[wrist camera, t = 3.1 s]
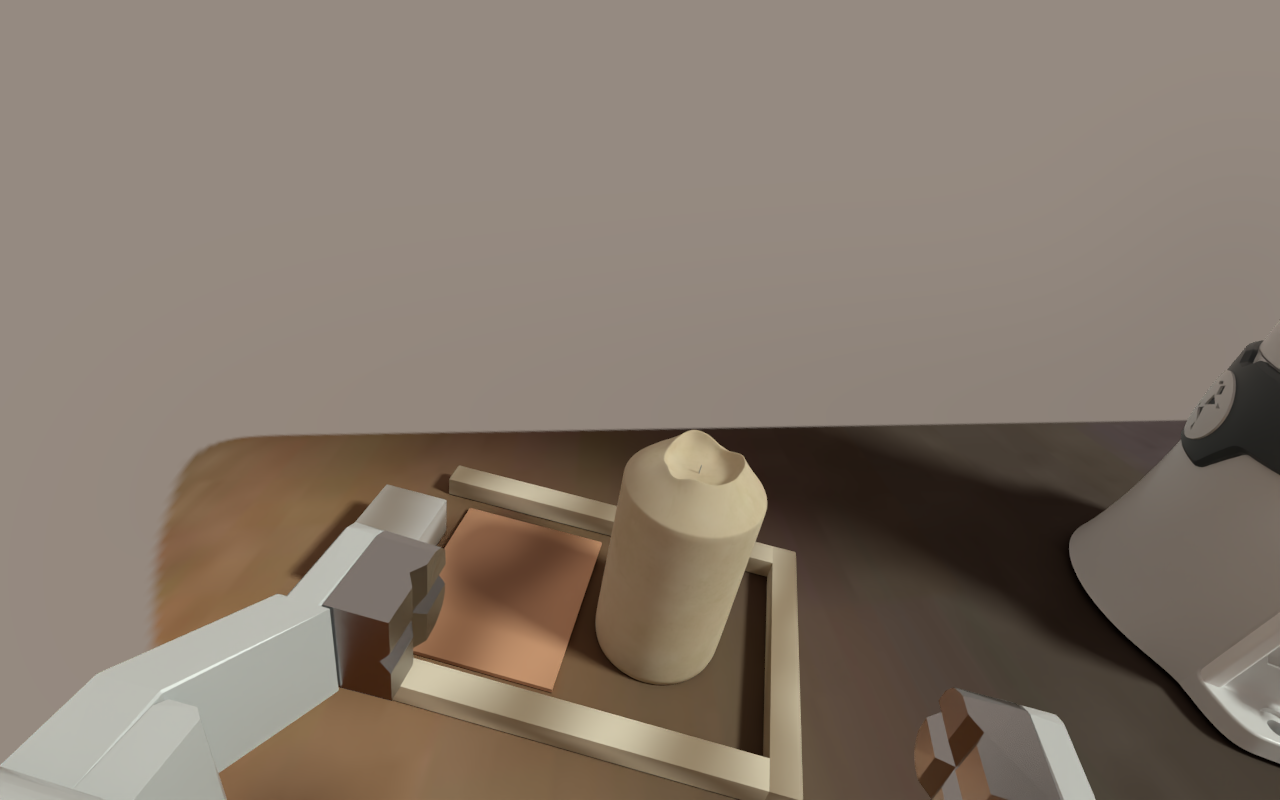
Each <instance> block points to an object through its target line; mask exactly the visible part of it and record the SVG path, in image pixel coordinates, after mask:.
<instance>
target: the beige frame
mask: <svg viewBox="0 0 1280 800" xmlns="http://www.w3.org/2000/svg"><path fill="white" fill-rule="evenodd" d="M449 494H452V495H456V496H460V497H464V498H468V499H471V500H475V501H479V502H483V503H487V504H491V505H494V506H498V507H502V508H506V509H510V510H513V511H517V512H521V513H525V514H529V515H533V516H536V517H540V518H544V519H548V520H552V521H556V522H559V523H563V524H567V525H571V526H575V527H578V528H582V529H586V530H590V531H594V532H598V533H601V534H605V535H609V536H611V534H612V529H613V524H614V519H615V514H616V509H617V506H614V505H611V504H607V503H603V502H599V501H595V500H591V499H587V498H583V497H580V496H576V495H572V494H568V493H564V492H560V491H556V490H552V489H549V488H545V487H541V486H537V485H533V484H529V483H525V482H521V481H517V480H514V479H510V478H506V477H502V476H498V475H494V474H490V473H486V472H483V471H479V470H475V469H471V468H467V467H463V466H458V467H457V469H456V470H455V472H454V473H453V474H452V476H451V477H450V479H449ZM356 522H357V523H360V524H364V525H367V526H371V527H374V528H377V529H381V530H384V531H389V532H392V533H395V534H398V535H402V536H405V537H408V538H412V539H415V540H418V541H422V542H425V543H428V544H431V545H435V546H436V545H437V544H438V542H439V541H440V539H441V538H442V536H443V535H444V533H445V531H446V500H444V499H441V498H437V497H433V496H429V495H425V494H422V493H418V492H414V491H410V490H406V489H402V488H399V487H395V486H391V485H386V486H385V487H384V488H383V490H382V491H381V492H380V493H379V494H378V496H377V497H376V498H375V499H374V500H373V501H372V503H371V504H370V505H369V506H368V507H367V509H366V510H365V511H364V512H363V513H362V514H361V516H360V517H359V518H358V519H357V520H356ZM601 545H602V542H599V541H595V540H591V539H587V538H583V537H580V536H576V535H572V534H568V533H564V532H561V531H557V530H553V529H549V528H545V527H541V526H538V525H534V524H530V523H526V522H522V521H519V520H515V519H511V518H507V517H503V516H500V515H496V514H492V513H488V512H484V511H481V510H477V509H473V508H470V509H469V510H468V512H467V513H466V515H465V516H464V518H463V520H462V521H461V523H460V524H459V526H458V528H457V529H456V531H455V532H454V534H453V535H452V537H451V539H450V540H449V542H448V543H447V545H446V546H445V548H444V549H445V557H446V564H445V566H444V568H443V569H442V571H441V573H440V574H439V576H440V577H441V578H442V580H443V581H444V583H445V595H444V600H443V604H442V608H441V611H440V614H439V616H438V619H437V621H436V624H435V626H434V628H433V630H432V632H431V633H430V635H429V637H428V639H427V640H426V641H425V642H423V643H421V644H419V645H418V646H416V647H414V648H413V654H416V655H419V656H423V657H426V658H430V659H434V660H437V661H441V662H444V663H448V664H451V665H455V666H458V667H462V668H466V669H469V670H473V671H476V672H480V673H483V674H487V675H490V676H494V677H498V678H501V679H505V680H508V681H512V682H515V683H519V684H522V685H526V686H530V687H533V688H537V689H540V690H544V691H547V692H551V693H552V690H553V687H554V684H555V681H556V678H557V675H558V672H559V669H560V666H561V663H562V660H563V657H564V654H565V651H566V649H567V646H568V643H569V640H570V637H571V634H572V631H573V628H574V625H575V622H576V619H577V616H578V613H579V610H580V607H581V604H582V601H583V598H584V595H585V593H586V590H587V587H588V584H589V581H590V578H591V575H592V572H593V569H594V566H595V563H596V560H597V557H598V554H599V551H600V548H601ZM745 571H747V572H751V573H754V574H758V575H762V576H766V577H767V604H766V647H765V689H764V732H763V756H759V755H756V754H752V753H749V752H745V751H742V750H738V749H735V748H731V747H727V746H724V745H720V744H717V743H713V742H710V741H706V740H703V739H699V738H696V737H692V736H688V735H685V734H681V733H678V732H674V731H671V730H667V729H664V728H660V727H656V726H653V725H649V724H646V723H642V722H639V721H635V720H632V719H628V718H624V717H621V716H617V715H614V714H610V713H607V712H603V711H600V710H596V709H593V708H589V707H585V706H582V705H578V704H575V703H571V702H568V701H564V700H561V699H557V698H553V697H550V696H546V695H543V694H539V693H536V692H532V691H529V690H525V689H522V688H518V687H514V686H511V685H507V684H504V683H500V682H497V681H493V680H490V679H486V678H482V677H479V676H475V675H472V674H468V673H465V672H461V671H458V670H454V669H451V668H447V667H443V666H440V665H436V664H433V663H429V662H426V661H422V660H419V659H415V658H413V665H412V667H411V669H410V670H409V672H408V674H407V675H406V677H405V679H404V681H403V682H402V684H401V686H400V688H399V689H398V691H397V693H396V694H395V696H394V698H393V700H395V701H398V702H402V703H405V704H409V705H412V706H416V707H419V708H423V709H426V710H430V711H433V712H437V713H440V714H444V715H447V716H451V717H454V718H458V719H461V720H465V721H468V722H471V723H475V724H478V725H482V726H485V727H489V728H492V729H496V730H499V731H503V732H506V733H510V734H513V735H517V736H520V737H524V738H527V739H531V740H534V741H538V742H541V743H545V744H548V745H552V746H555V747H559V748H562V749H565V750H569V751H572V752H576V753H579V754H583V755H586V756H590V757H593V758H597V759H600V760H604V761H607V762H611V763H614V764H618V765H621V766H625V767H628V768H632V769H635V770H639V771H642V772H646V773H649V774H653V775H656V776H659V777H663V778H666V779H670V780H673V781H677V782H680V783H684V784H687V785H691V786H694V787H698V788H701V789H705V790H708V791H712V792H715V793H719V794H722V795H726V796H729V797H733V798H736V799H740V800H803V782H802V747H801V713H800V679H799V644H798V610H797V576H796V552H793V551H789V550H785V549H781V548H777V547H773V546H770V545H766V544H762V543H758V542H755V544H754V547H753V549H752V552H751V555H750V558H749V560H748V563H747V566H746V569H745Z"/></svg>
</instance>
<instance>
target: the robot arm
mask: <svg viewBox="0 0 1280 800" xmlns="http://www.w3.org/2000/svg"><path fill="white" fill-rule="evenodd" d="M1069 554H1070V559H1071V562H1072V565H1073V568H1074V570H1075V573H1076V575H1077V577H1078V579H1079V581H1080V582H1081V584H1082V586H1083V587H1084V589H1085V590H1086V592H1087V593H1088V595H1089V596H1090V597H1091V599H1092V600H1093V601H1094V603H1095V604H1096V605H1097V606H1098V608H1099V609H1100V610H1101V611H1102V612H1103V613H1104V614H1105V616H1106V617H1107V618H1108V619H1109V620H1110V621H1111V622H1112V623H1113V624H1114V625H1115V626H1116V627H1117V628H1118V629H1119V630H1120V631H1121V632H1122V633H1123V634H1124V635H1125V636H1126V637H1127V638H1128V639H1129V640H1131V641H1132V642H1133V643H1134V644H1135V645H1136V646H1137V647H1139V648H1140V649H1141V650H1142V651H1143V652H1144V653H1146V654H1147V655H1148V656H1149V657H1150V658H1152V659H1153V660H1154V661H1155V662H1156V663H1157V664H1159V665H1160V666H1161V667H1162V668H1163V669H1164V670H1165V671H1167V672H1168V673H1169V674H1170V675H1171V676H1172V677H1173V678H1174V679H1175V680H1176V681H1177V682H1178V683H1179V684H1180V685H1181V687H1182V688H1183V689H1184V690H1185V692H1186V693H1187V694H1188V695H1189V697H1190V698H1191V699H1192V700H1193V702H1194V703H1195V704H1196V705H1197V707H1198V708H1199V709H1200V710H1201V711H1202V712H1203V714H1204V715H1205V716H1206V717H1207V718H1208V719H1209V721H1210V722H1211V723H1212V724H1213V725H1214V726H1215V727H1216V728H1217V729H1218V730H1219V731H1220V732H1221V733H1222V734H1223V735H1224V736H1226V737H1227V738H1228V739H1229V740H1230V741H1232V742H1233V743H1235V744H1236V745H1238V746H1239V747H1241V748H1243V749H1244V750H1246V751H1248V752H1251V753H1253V754H1255V755H1258V756H1261V757H1263V758H1266V759H1268V760H1271V761H1274V762H1276V763H1279V764H1280V320H1279V321H1278V323H1277V324H1276V325H1275V326H1274V328H1273V329H1272V330H1271V332H1270V333H1269V334H1268V336H1267V337H1266V338H1265V340H1263V341H1258V342H1253V343H1251V344H1249V345H1248V346H1246V348H1245V349H1244V350H1243V351H1242V353H1241V354H1240V355H1239V356H1238V357H1237V359H1236V360H1235V361H1234V362H1233V363H1232V365H1231V366H1230V367H1229V368H1228V369H1227V371H1224V372H1223V373H1222V374H1221V375H1220V376H1219V377H1218V378H1217V379H1216V381H1215V382H1214V383H1213V384H1212V386H1211V387H1210V388H1209V390H1208V391H1207V392H1206V394H1205V395H1204V396H1203V398H1202V399H1201V400H1200V402H1199V403H1198V405H1197V406H1196V407H1195V409H1194V410H1193V412H1192V413H1191V415H1190V417H1189V419H1188V420H1187V423H1186V425H1185V427H1184V429H1183V430H1182V432H1181V440H1180V441H1179V442H1178V443H1177V445H1176V446H1175V447H1174V448H1173V449H1172V450H1171V451H1170V452H1169V453H1168V454H1167V455H1166V456H1165V457H1164V458H1163V459H1162V460H1161V461H1160V462H1159V463H1158V464H1157V465H1156V466H1155V467H1154V468H1153V469H1152V470H1151V471H1150V472H1149V473H1148V474H1147V475H1146V476H1145V477H1144V478H1143V479H1142V480H1141V481H1140V482H1138V483H1137V484H1136V485H1135V486H1134V487H1133V488H1132V489H1131V490H1129V491H1128V492H1127V493H1126V494H1125V495H1124V496H1123V497H1121V498H1120V499H1119V500H1117V501H1116V502H1115V503H1114V504H1112V505H1111V506H1110V507H1108V508H1107V509H1106V510H1105V511H1103V512H1102V513H1100V514H1099V515H1097V516H1096V517H1095V518H1093V519H1091V520H1090V521H1088V522H1086V523H1085V524H1083V525H1082V526H1080V527H1079V528H1077V529H1076V530H1075V532H1074V533H1073V535H1072V536H1071V539H1070V543H1069ZM445 564H446V557H445V549H443V548H441V547H438V546H435V545H431V544H428V543H425V542H422V541H418V540H415V539H412V538H408V537H405V536H402V535H398V534H395V533H392V532H389V531H384V530H381V529H377V528H374V527H371V526H367V525H364V524H360V523H357V522H355V523H354V524H352V525H350V526H348V527H347V528H345V529H344V531H343V532H342V533H341V534H340V535H339V536H338V537H337V539H336V540H335V541H334V542H333V543H332V544H331V546H330V547H329V548H328V549H327V550H326V551H325V552H324V554H323V555H322V556H321V557H320V558H319V559H318V560H317V562H316V563H315V564H314V565H313V566H312V567H311V569H310V570H309V571H308V572H307V573H306V574H305V575H304V577H303V578H302V579H301V580H300V581H299V582H298V583H297V585H296V586H295V587H294V588H293V589H292V590H291V592H290V593H289V594H288V595H287V596H285V595H281V594H276V595H274V596H271V597H269V598H267V599H265V600H262V601H260V602H258V603H256V604H253V605H251V606H249V607H246V608H244V609H242V610H240V611H237V612H235V613H233V614H231V615H228V616H226V617H224V618H222V619H219V620H217V621H215V622H213V623H210V624H208V625H206V626H204V627H201V628H199V629H197V630H195V631H192V632H190V633H188V634H186V635H183V636H181V637H179V638H176V639H174V640H172V641H170V642H167V643H165V644H163V645H161V646H158V647H156V648H154V649H152V650H149V651H147V652H145V653H143V654H140V655H138V656H136V657H134V658H131V659H129V660H127V661H125V662H122V663H120V664H118V665H116V666H113V667H111V668H109V669H107V670H104V671H102V672H100V673H97V674H96V675H95V676H94V677H93V678H92V679H91V680H90V681H89V682H88V683H87V684H86V685H85V686H84V687H83V688H81V689H80V690H79V691H78V692H77V693H76V694H75V695H74V696H73V697H72V698H71V699H70V700H69V701H68V702H67V703H66V704H64V705H63V706H62V707H61V708H60V709H59V710H58V711H57V712H56V713H55V714H54V715H53V716H52V717H51V718H50V719H49V720H47V721H46V722H45V723H44V724H43V725H42V726H41V727H40V728H39V729H38V730H37V731H36V732H35V733H34V734H33V735H32V736H31V737H29V738H28V739H27V741H25V742H24V743H23V744H22V745H21V746H20V747H19V748H18V749H17V750H16V751H15V752H13V753H12V754H11V756H9V757H8V758H7V759H6V760H5V761H4V762H3V763H2V764H1V765H0V800H227V798H226V795H225V792H224V789H223V786H222V783H221V780H220V776H219V772H221V771H222V770H224V769H225V768H227V767H228V766H230V765H231V764H232V763H234V762H235V761H237V760H238V759H240V758H241V757H243V756H244V755H246V754H247V753H248V752H250V751H251V750H253V749H254V748H256V747H257V746H259V745H260V744H262V743H263V742H264V741H266V740H267V739H269V738H270V737H272V736H273V735H275V734H276V733H278V732H279V731H280V730H282V729H283V728H285V727H286V726H288V725H289V724H291V723H292V722H294V721H295V720H297V719H298V718H299V717H301V716H302V715H304V714H305V713H307V712H308V711H310V710H311V709H313V708H314V707H315V706H317V705H318V704H320V703H321V702H323V701H324V700H326V699H327V698H329V697H330V696H331V695H333V694H334V693H336V692H337V691H338V690H339V688H338V687H341V688H344V689H348V690H352V691H356V692H360V693H364V694H367V695H371V696H375V697H379V698H383V699H387V700H390V701H392V700H393V698H394V696H395V694H396V693H397V691H398V689H399V688H400V686H401V684H402V682H403V681H404V679H405V677H406V675H407V674H408V672H409V670H410V669H411V667H412V665H413V648H414V647H416V646H418V645H419V644H421V643H423V642H425V641H426V640H427V639H428V637H429V635H430V633H431V632H432V630H433V628H434V626H435V624H436V621H437V619H438V616H439V614H440V611H441V608H442V604H443V600H444V595H445V583H444V581H443V580H442V578H441V577H440V576H439V574H440V573H441V571H442V569H443V568H444V566H445ZM939 704H940V708H941V712H940V713H938V714H935V715H932V716H930V717H927V718H926V719H925V721H924V723H923V724H922V726H921V727H920V729H919V731H918V735H917V739H916V744H915V767H916V773H917V779H918V781H919V783H920V784H921V785H922V787H923V788H924V790H925V791H926V792H927V794H928V795H929V797H930V798H931V799H930V800H1096V799H1095V797H1094V795H1093V792H1092V790H1091V787H1090V785H1089V783H1088V780H1087V778H1086V775H1085V773H1084V771H1083V768H1082V766H1081V764H1080V761H1079V759H1078V756H1077V754H1076V752H1075V749H1074V747H1073V744H1072V742H1071V740H1070V737H1069V735H1068V733H1067V730H1066V728H1065V725H1064V724H1063V722H1062V721H1061V720H1060V719H1059V718H1058V716H1057V715H1055V714H1051V713H1047V712H1044V711H1040V710H1036V709H1033V708H1029V707H1025V706H1020V705H1017V704H1016V703H1012V702H1008V701H1004V700H1001V699H997V698H993V697H989V696H985V695H981V694H978V693H974V692H970V691H966V690H962V689H959V688H955V687H953V688H951V689H949V690H946V691H945V693H944V694H943V695H942V697H941V698H940V700H939Z"/></svg>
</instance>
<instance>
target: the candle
mask: <svg viewBox="0 0 1280 800" xmlns="http://www.w3.org/2000/svg"><path fill="white" fill-rule="evenodd" d="M766 510H767V496H766V493H765V490H764V488H763V486H762V484H761V482H760V481H759V479H758V478H757V476H756V475H755V473H754V472H753V471H752V469H751V468H750V467H749V465H748V463H747V462H746V460H745V458H744V456H743V455H741V454H739V453H735V452H731V451H728V450H727V449H725V448H724V447H722V446H721V445H719V444H718V443H717V442H716V441H715V440H714V439H713V438H712V437H711V436H709V435H708V434H706V433H704V432H702V431H699V430H690V431H687V432H685V433H683V434H681V435H679V436H676V437H673V438H670V439H667V440H663V441H661V442H658V443H655V444H652V445H650V446H648V447H645V448H644V449H642V450H640V451H638V452H637V453H636V454H634V455H633V456H632V457H631V458H630V460H629V461H628V462H627V464H626V467H625V469H624V474H623V479H622V484H621V489H620V494H619V499H618V504H617V509H616V514H615V519H614V524H613V529H612V534H611V539H610V544H609V550H608V555H607V560H606V565H605V570H604V575H603V580H602V585H601V590H600V595H599V600H598V606H597V612H596V621H595V625H596V635H597V639H598V642H599V644H600V647H601V649H602V651H603V652H604V654H605V655H606V657H607V658H608V659H609V660H610V662H611V663H612V664H613V665H614V666H615V667H617V668H618V669H619V670H620V671H622V672H623V673H625V674H627V675H628V676H630V677H632V678H634V679H636V680H639V681H642V682H645V683H650V684H655V685H672V684H678V683H681V682H684V681H687V680H689V679H691V678H693V677H695V676H696V675H698V674H699V673H700V672H701V671H702V670H703V669H704V668H705V667H706V666H707V664H708V663H709V661H710V660H711V658H712V656H713V655H714V652H715V650H716V647H717V645H718V642H719V640H720V637H721V634H722V632H723V629H724V626H725V623H726V621H727V618H728V615H729V612H730V610H731V607H732V604H733V601H734V599H735V596H736V593H737V590H738V588H739V585H740V582H741V580H742V577H743V574H744V571H745V569H746V566H747V563H748V560H749V558H750V555H751V552H752V549H753V547H754V544H755V541H756V538H757V536H758V533H759V530H760V527H761V525H762V522H763V519H764V516H765V513H766Z"/></svg>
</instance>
